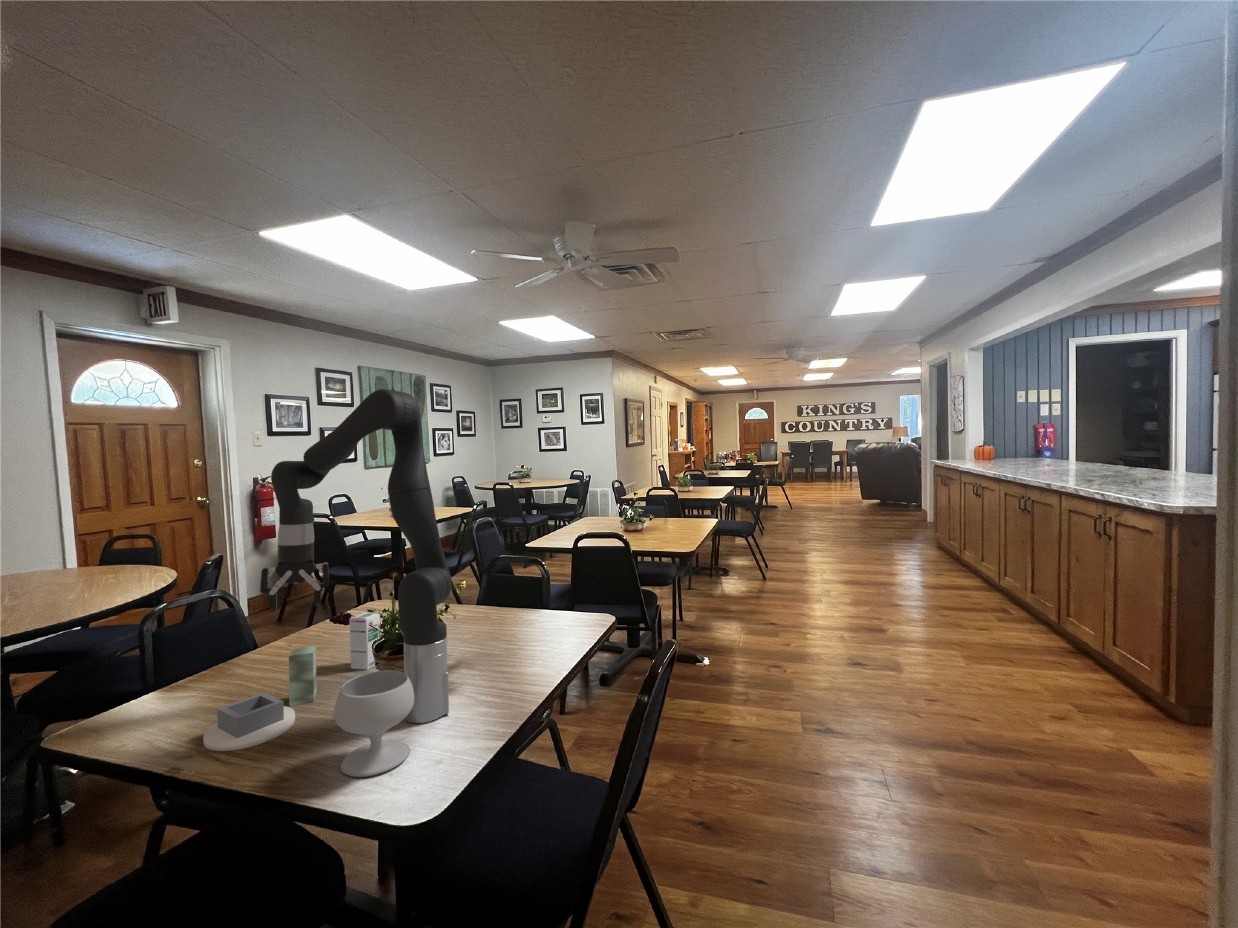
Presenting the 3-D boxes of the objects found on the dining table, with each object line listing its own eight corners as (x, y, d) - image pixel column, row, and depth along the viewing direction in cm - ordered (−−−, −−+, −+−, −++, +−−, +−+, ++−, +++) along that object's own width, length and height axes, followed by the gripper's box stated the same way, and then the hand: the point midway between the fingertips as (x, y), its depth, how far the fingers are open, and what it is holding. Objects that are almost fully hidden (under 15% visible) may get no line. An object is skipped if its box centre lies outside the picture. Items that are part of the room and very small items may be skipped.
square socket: (273, 706, 120) (272, 683, 120) (309, 722, 112) (309, 698, 112) (189, 737, 106) (189, 711, 106) (224, 759, 98) (224, 731, 98)
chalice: (381, 734, 107) (381, 663, 107) (430, 749, 101) (429, 674, 101) (317, 770, 94) (317, 690, 94) (369, 790, 88) (368, 704, 88)
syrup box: (368, 670, 141) (367, 618, 141) (349, 668, 142) (349, 617, 142) (381, 662, 146) (381, 612, 146) (363, 660, 147) (363, 611, 147)
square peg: (316, 693, 126) (315, 645, 126) (313, 701, 122) (313, 652, 122) (293, 697, 124) (292, 649, 124) (289, 706, 120) (288, 655, 120)
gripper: (258, 546, 117) (258, 615, 117) (329, 541, 124) (328, 607, 124) (263, 541, 124) (262, 607, 124) (329, 537, 131) (329, 599, 131)
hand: (295, 607), depth 124 cm, fingers open, 8 cm apart
